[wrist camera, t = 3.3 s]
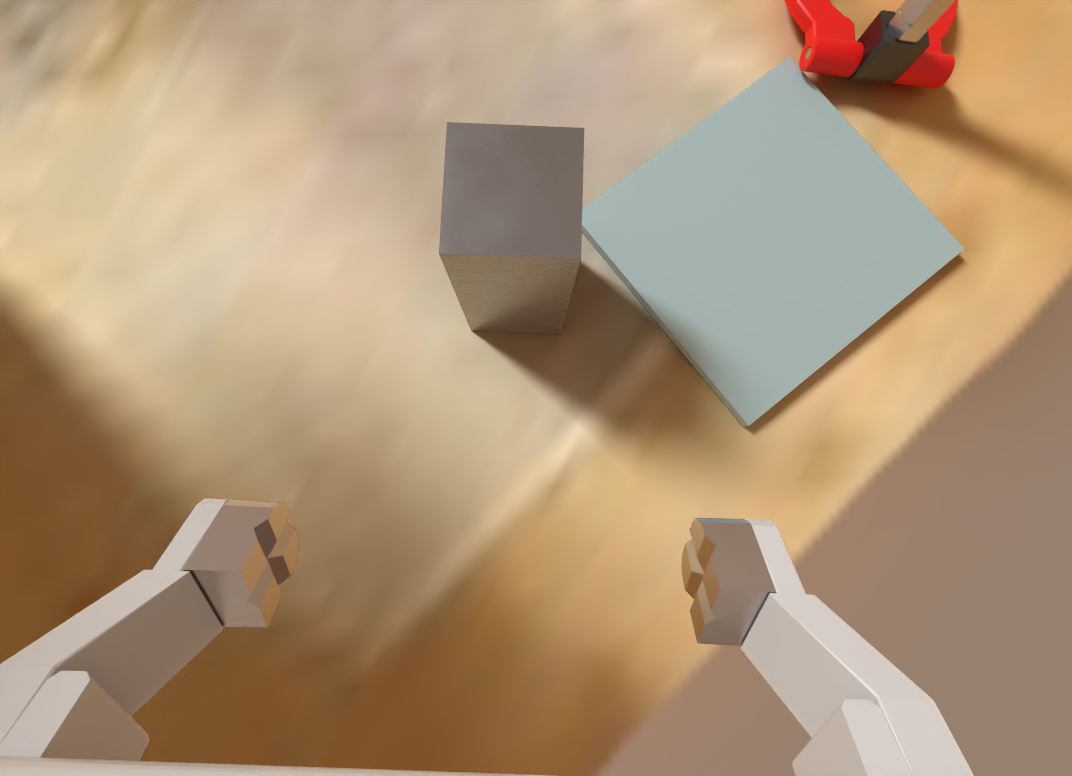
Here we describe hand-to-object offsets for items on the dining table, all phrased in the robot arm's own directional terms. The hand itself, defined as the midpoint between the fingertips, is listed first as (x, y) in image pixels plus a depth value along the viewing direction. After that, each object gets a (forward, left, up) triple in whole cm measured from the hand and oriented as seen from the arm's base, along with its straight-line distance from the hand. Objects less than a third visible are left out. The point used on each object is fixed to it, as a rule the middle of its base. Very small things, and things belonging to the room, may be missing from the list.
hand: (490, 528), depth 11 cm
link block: (+6, +7, -12) cm, 15 cm away
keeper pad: (+16, +2, -12) cm, 21 cm away
